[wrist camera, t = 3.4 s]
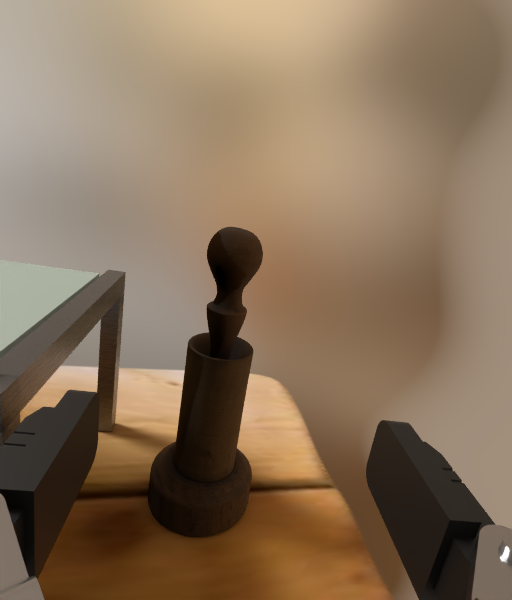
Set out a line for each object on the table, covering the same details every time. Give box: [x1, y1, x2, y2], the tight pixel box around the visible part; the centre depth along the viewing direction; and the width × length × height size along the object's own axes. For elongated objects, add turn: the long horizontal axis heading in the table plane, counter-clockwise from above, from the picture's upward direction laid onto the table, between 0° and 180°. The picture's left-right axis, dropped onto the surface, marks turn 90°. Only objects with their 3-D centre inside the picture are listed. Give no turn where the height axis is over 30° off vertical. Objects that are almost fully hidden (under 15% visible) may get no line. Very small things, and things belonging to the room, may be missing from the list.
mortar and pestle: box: [148, 227, 263, 537], centre depth 24 cm, size 7×6×18 cm
